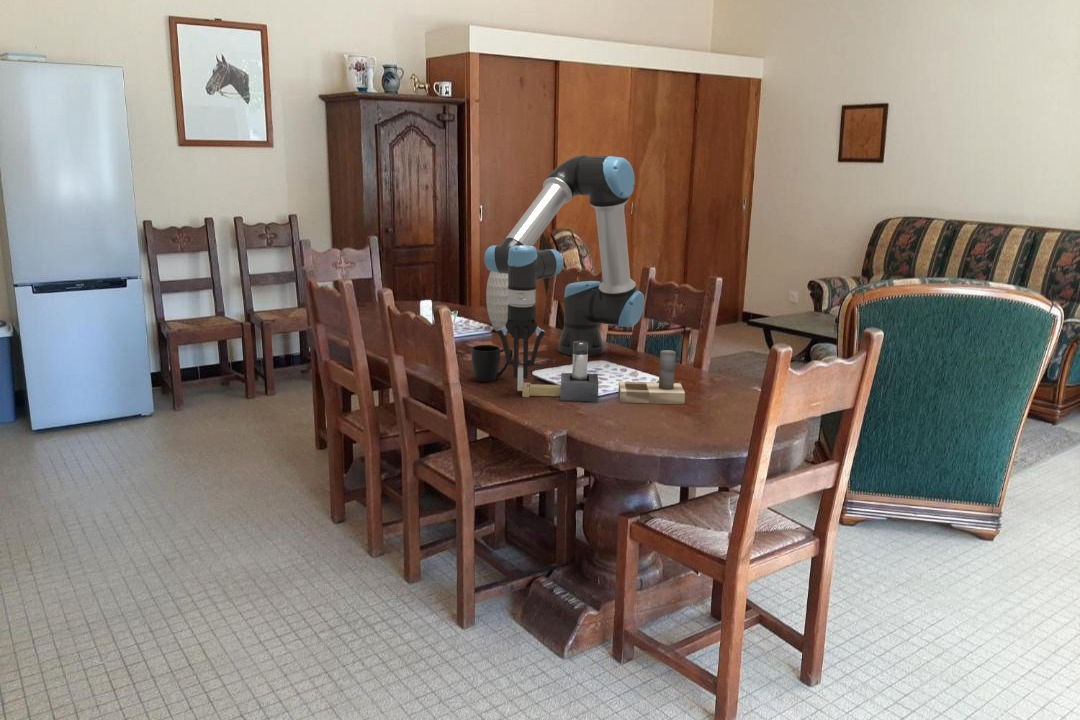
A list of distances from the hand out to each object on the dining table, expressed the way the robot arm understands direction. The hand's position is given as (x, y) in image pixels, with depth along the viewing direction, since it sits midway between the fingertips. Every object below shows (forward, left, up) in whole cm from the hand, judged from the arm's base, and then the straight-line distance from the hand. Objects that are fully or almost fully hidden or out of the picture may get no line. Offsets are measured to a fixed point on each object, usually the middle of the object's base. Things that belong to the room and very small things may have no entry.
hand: (520, 389), depth 234 cm
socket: (0, +16, -1) cm, 16 cm away
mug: (-14, -9, -2) cm, 17 cm away
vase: (-81, -11, -2) cm, 82 cm away
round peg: (0, +16, -1) cm, 16 cm away
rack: (0, +36, -1) cm, 36 cm away
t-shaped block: (0, +6, -1) cm, 6 cm away
